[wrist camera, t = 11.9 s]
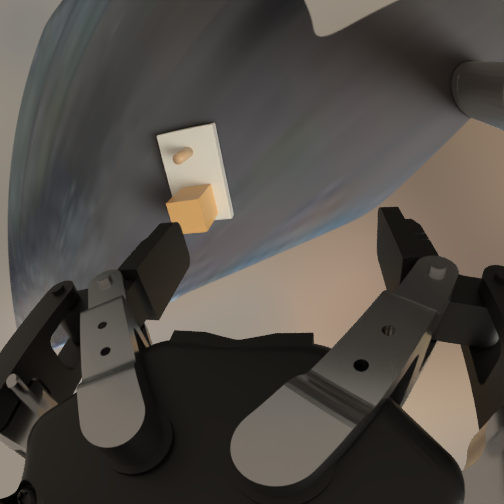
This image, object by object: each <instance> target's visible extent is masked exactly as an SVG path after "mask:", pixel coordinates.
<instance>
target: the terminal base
mask: <svg viewBox="0 0 504 504" xmlns="http://www.w3.org/2000/svg"><path fill="white" fill-rule="evenodd" d="M157 140H158V144H159V148H160V152H161V156H162V160H163V164H164V167H165V171H166V175H167V179H168V183H169V186H170V190H171V194H172V197H173V196H174V195H175V194H176V193H177V192H178V191H179V190H180V189H181V188H186V187H193V186H200V185H207V184H211V185H212V190H213V194H214V198H215V202H216V206H217V210H218V215H217V217H216V218H215V220H221V219H232V217H233V215H234V213H233V208H232V203H231V199H230V194H229V189H228V184H227V179H226V174H225V170H224V165H223V160H222V155H221V150H220V145H219V140H218V135H217V130H216V125H215V123H210V124H205V125H200V126H195V127H190V128H185V129H180V130H176V131H171V132H167V133H163V134H160V135H158V136H157Z"/></svg>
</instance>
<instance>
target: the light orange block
mask: <svg viewBox="0 0 504 504" xmlns="http://www.w3.org/2000/svg"><path fill="white" fill-rule="evenodd" d="M166 206H167V209H168V212H169V215H170V219H171V222H178V223H179V224H180V226H181V229H182V232H183V234H188V233H199V232H207V231H208V229H209V228H210V226H211V225H212V223H213V221H214V220H215V218H216V217H217V215H218V210H217V206H216V202H215V198H214V194H213V190H212V185H211V184H207V185H200V186H193V187H186V188H181V189H180V190H179V191H178V192H177V193H176V194H175V195H174V196H173V197H172V198H171V199H170V200H169V201H168V202H167V203H166Z"/></svg>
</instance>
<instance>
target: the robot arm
mask: <svg viewBox="0 0 504 504" xmlns="http://www.w3.org/2000/svg"><path fill="white" fill-rule="evenodd" d="M451 88H452V94H453V97H454V100H455V102H456V104H457V106H458V107H459V108H460V110H461V111H462V112H463V113H464V114H465V115H467V116H469V117H470V118H473V119H476V120H478V121H481V122H484V123H486V124H489V125H491V126H494V127H496V128H499V129H501V130H504V62H484V61H470V62H464V63H462V64H460V65H459V66H458V67H457V68H456V70H455V71H454V73H453V76H452V81H451ZM377 255H378V261H379V264H380V268H381V271H382V275H383V278H384V281H385V285H386V289H387V290H385V291H383V292H382V293H381V294H380V296H378V298H377V299H376V300H375V301H374V302H373V303H372V305H371V306H370V307H369V308H368V309H367V310H366V312H365V313H364V314H363V315H362V316H361V317H360V318H359V319H358V321H357V322H356V323H355V324H354V325H353V326H352V327H351V328H350V329H349V331H348V332H347V333H346V334H345V335H344V336H343V337H342V338H341V339H340V340H339V341H338V342H337V344H335V346H334V347H333V348H332V349H331V348H329V347H325V346H322V345H317V344H314V335H313V333H275V334H271V335H265V336H259V337H254V338H248V339H243V340H235V339H230V338H226V337H222V336H218V335H215V334H211V333H207V332H194V331H193V332H192V331H176V330H175V331H174V333H173V334H172V336H171V339H170V340H169V341H164V342H160V343H156V344H154V345H153V344H152V341H151V338H150V335H149V332H148V329H147V327H146V325H145V323H144V322H145V320H159V319H160V317H161V316H162V314H163V312H164V310H165V308H166V306H167V305H168V303H169V301H170V299H171V298H172V296H173V294H174V292H175V291H176V289H177V287H178V285H179V284H180V282H181V280H182V278H183V277H184V275H185V273H186V272H187V270H188V268H189V264H190V256H189V252H188V249H187V245H186V242H185V239H184V235H183V232H182V229H181V226H180V224H179V223H178V222H170V223H161V224H159V225H158V226H157V228H156V229H155V230H154V231H153V232H152V233H151V234H150V235H149V237H148V238H146V239H145V240H143V241H142V242H141V243H140V244H139V245H138V246H137V247H136V250H134V251H133V252H132V253H131V255H130V256H129V257H128V258H127V259H126V260H125V261H124V263H123V264H122V265H121V266H120V267H119V268H118V270H108V271H105V272H103V273H101V274H99V275H97V276H96V277H95V278H93V279H92V280H91V282H90V283H89V285H88V289H84V290H80V291H77V290H76V288H75V286H74V284H73V282H72V281H63V282H61V283H58V284H56V285H55V286H53V287H52V288H51V289H50V290H49V291H48V292H47V293H46V294H45V296H44V297H43V298H42V299H41V300H40V302H39V303H38V304H37V305H36V306H35V308H34V309H33V310H32V311H31V313H30V314H29V315H28V316H27V318H26V319H25V320H24V321H23V323H22V324H21V325H20V327H19V328H18V329H17V331H16V332H15V333H14V334H13V336H12V337H11V338H10V340H9V341H8V343H7V344H6V345H5V347H4V348H3V349H2V351H1V353H0V441H1V442H3V443H4V444H5V445H6V446H8V447H9V448H10V449H12V450H14V451H16V452H17V453H18V454H20V455H21V456H22V457H24V458H25V459H26V460H25V467H24V472H23V476H22V481H21V483H20V485H19V487H18V489H17V491H16V492H15V493H14V494H12V495H11V496H8V497H6V498H2V499H0V504H504V266H499V265H491V266H488V267H486V268H485V269H484V271H483V275H482V278H475V277H468V276H463V275H459V270H458V268H457V266H456V265H455V264H454V263H453V262H452V261H450V260H448V259H447V258H444V257H441V256H439V255H438V253H437V252H436V250H435V248H434V247H433V245H432V243H431V242H430V240H429V238H428V237H427V235H426V234H425V232H424V230H423V228H422V227H421V225H420V224H418V223H416V222H415V221H414V220H412V219H405V218H404V216H403V215H402V213H401V211H400V210H399V208H398V207H380V208H379V210H378V230H377ZM59 324H61V326H62V327H63V329H64V330H65V332H66V333H67V335H68V336H69V339H68V341H67V342H66V344H65V345H64V347H63V348H62V350H61V352H60V353H59V355H58V356H57V355H56V353H55V352H54V350H53V349H52V347H51V343H50V340H51V336H52V334H53V333H54V332H55V330H56V329H57V327H58V326H59ZM439 341H442V342H448V343H455V344H461V348H462V352H463V355H464V359H465V363H466V367H467V371H468V375H469V379H470V383H471V387H472V393H473V397H474V402H475V407H476V413H477V419H478V425H479V432H478V433H477V434H476V435H475V436H474V437H473V439H472V440H471V442H470V444H469V447H468V451H467V462H466V465H465V468H464V470H463V471H461V469H460V467H459V465H458V464H457V462H456V461H455V459H454V458H453V457H452V456H451V455H450V454H449V453H448V452H447V451H446V450H445V449H444V448H443V447H442V446H441V445H440V444H439V443H437V442H436V441H435V440H434V439H433V438H432V437H431V436H430V435H429V434H428V433H427V432H426V431H425V430H424V429H423V428H422V427H421V426H420V425H419V424H418V423H416V422H415V421H414V420H413V419H412V418H411V417H410V416H409V415H408V414H407V413H406V412H405V411H404V410H403V409H402V406H403V404H404V403H405V401H406V399H407V398H408V396H409V394H410V392H411V390H412V388H413V386H414V384H415V383H416V381H417V379H418V378H419V376H420V374H421V372H422V371H423V369H424V367H425V365H426V364H427V362H428V360H429V359H430V357H431V355H432V353H433V351H434V349H435V347H436V346H437V344H438V342H439ZM81 378H82V383H80V384H79V385H78V383H79V382H80V380H81ZM77 385H78V386H77ZM76 387H77V392H76V393H75V394H73V393H74V391H75V389H76Z"/></svg>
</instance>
